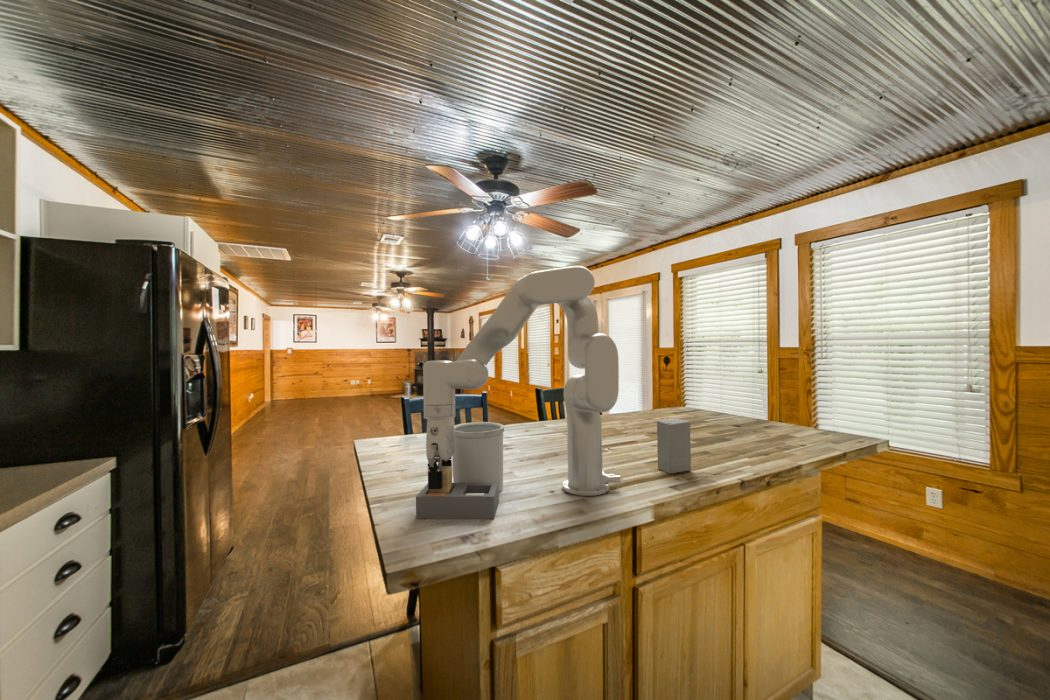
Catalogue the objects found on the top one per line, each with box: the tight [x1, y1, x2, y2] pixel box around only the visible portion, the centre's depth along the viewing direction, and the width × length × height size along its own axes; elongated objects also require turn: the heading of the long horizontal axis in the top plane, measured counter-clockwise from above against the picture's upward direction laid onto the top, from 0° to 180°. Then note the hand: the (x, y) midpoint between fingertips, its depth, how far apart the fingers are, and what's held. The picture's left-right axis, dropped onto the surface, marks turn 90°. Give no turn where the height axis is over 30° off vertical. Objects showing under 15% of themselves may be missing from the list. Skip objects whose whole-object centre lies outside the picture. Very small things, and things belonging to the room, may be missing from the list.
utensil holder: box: [451, 421, 505, 493], centre depth 110 cm, size 15×15×18 cm
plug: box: [429, 465, 453, 494], centre depth 96 cm, size 4×4×10 cm
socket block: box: [415, 482, 500, 520], centre depth 95 cm, size 18×10×5 cm, turn 88°
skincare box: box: [656, 418, 692, 474], centre depth 125 cm, size 8×7×16 cm
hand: (440, 481), depth 96 cm, fingers open, 9 cm apart
